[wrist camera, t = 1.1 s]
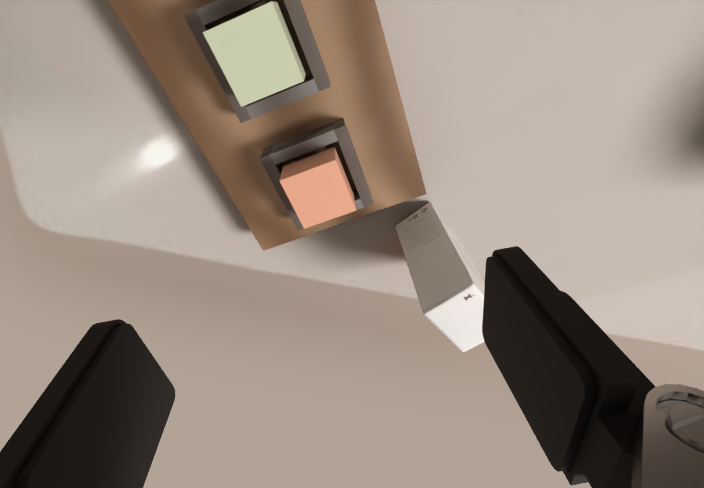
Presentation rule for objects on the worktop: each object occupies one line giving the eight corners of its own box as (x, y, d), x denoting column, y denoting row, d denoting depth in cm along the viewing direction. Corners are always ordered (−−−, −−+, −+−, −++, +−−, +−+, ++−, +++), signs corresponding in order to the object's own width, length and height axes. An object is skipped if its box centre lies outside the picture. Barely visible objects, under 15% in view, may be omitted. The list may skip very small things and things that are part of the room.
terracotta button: (334, 146, 25) (335, 159, 23) (353, 194, 27) (356, 210, 25) (283, 166, 26) (279, 180, 24) (305, 211, 28) (304, 228, 26)
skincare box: (392, 225, 35) (420, 313, 25) (429, 200, 33) (475, 281, 23) (425, 263, 37) (462, 355, 28) (461, 240, 36) (513, 329, 26)
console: (279, -330, 17) (264, -439, 13) (418, 179, 32) (432, 205, 28) (24, -180, 19) (-60, -232, 15) (267, 232, 34) (259, 264, 30)
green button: (277, 2, 20) (271, 1, 18) (305, 74, 22) (303, 81, 20) (215, 30, 21) (202, 32, 19) (248, 97, 23) (241, 106, 21)
